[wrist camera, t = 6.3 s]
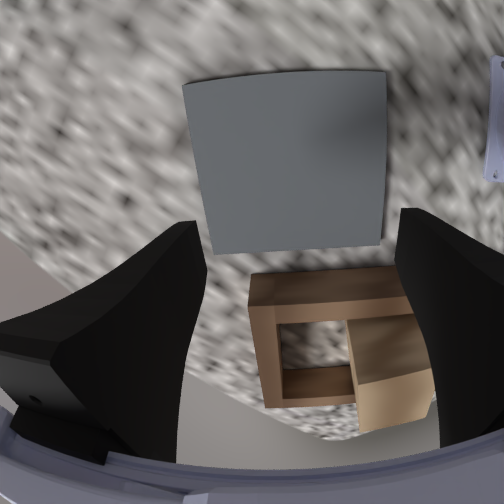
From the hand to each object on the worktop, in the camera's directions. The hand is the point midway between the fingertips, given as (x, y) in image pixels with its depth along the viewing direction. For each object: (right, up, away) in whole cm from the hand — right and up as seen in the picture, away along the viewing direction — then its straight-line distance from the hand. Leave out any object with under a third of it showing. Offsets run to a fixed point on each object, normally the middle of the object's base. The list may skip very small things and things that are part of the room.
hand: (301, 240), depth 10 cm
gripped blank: (+8, -6, +13) cm, 16 cm away
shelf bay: (+7, -6, +13) cm, 16 cm away
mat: (0, +4, +6) cm, 8 cm away
